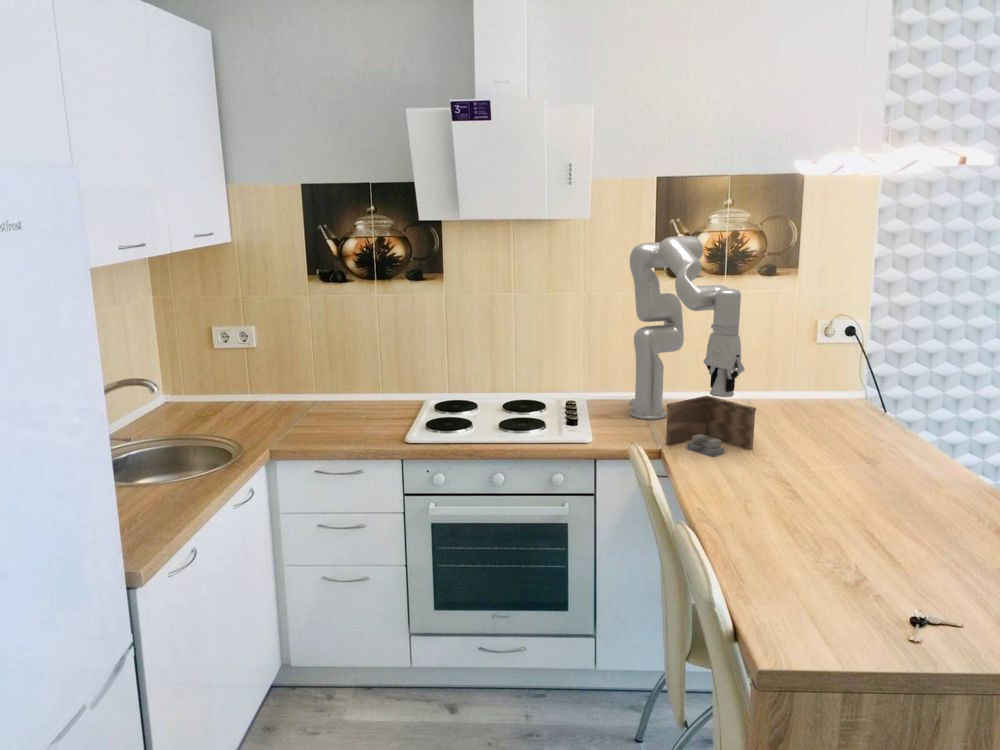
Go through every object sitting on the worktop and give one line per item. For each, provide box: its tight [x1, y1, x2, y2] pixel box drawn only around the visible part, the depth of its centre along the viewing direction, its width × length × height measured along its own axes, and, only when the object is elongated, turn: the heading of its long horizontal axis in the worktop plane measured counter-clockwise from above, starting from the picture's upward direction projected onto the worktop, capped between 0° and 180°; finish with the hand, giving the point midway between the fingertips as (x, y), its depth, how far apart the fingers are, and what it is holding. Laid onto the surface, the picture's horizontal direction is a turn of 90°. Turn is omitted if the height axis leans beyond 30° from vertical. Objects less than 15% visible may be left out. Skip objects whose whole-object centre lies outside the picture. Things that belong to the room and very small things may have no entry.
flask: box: [709, 368, 735, 398], centre depth 260 cm, size 7×7×10 cm
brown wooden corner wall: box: [665, 395, 757, 451], centre depth 264 cm, size 19×18×13 cm
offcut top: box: [691, 434, 722, 450], centre depth 260 cm, size 8×4×2 cm, turn 37°
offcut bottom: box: [686, 441, 725, 458], centre depth 261 cm, size 10×5×2 cm, turn 38°
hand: (722, 388), depth 260 cm, fingers closed on flask, 5 cm apart
